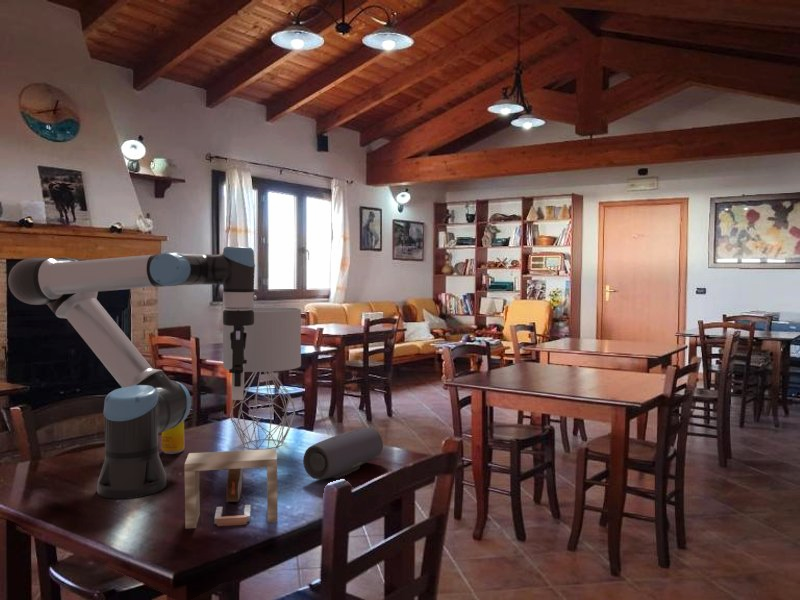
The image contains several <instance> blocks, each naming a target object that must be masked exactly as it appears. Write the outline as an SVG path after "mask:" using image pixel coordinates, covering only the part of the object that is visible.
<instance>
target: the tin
mask: <svg viewBox="0 0 800 600" xmlns="http://www.w3.org/2000/svg"><path fill="white" fill-rule="evenodd" d="M243 469H244V468H239V469H228V472H227V481H226V482H227V483H226V500H225V501H226V503H238V502H239V501H240V497H241V494H242V490H243V481H244V475H243Z"/></svg>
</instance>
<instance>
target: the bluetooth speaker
mask: <svg viewBox="0 0 800 600" xmlns="http://www.w3.org/2000/svg"><path fill="white" fill-rule="evenodd" d="M383 448H384V442H383V439H382V436H381V434H380V432H379V431H378V430H377V429H375V428H374V427H370V426H369V427H368V426H367V427H362V428H361V427H360V428H357V429H353V430H350V431H346V432H343V433H341V434H340V433H339V434H337V435H334V436H331V437H328V438H326V439H324V440H321V441H319V442H317V443H314V444H312V445H311V446H308V448H307V449H306V450H305V452H304V454H303V459H302V463H303V467H304V470H305V473H306V474H307V475H308V476H309V477H310V478H312V479H314V480H318V481H319V480H326V479H329V478H331V479H340V478H342V476H343V477H346V476H347V474H348V475H350V474H352V473H351V472H353V471H355V472H357V471H359V470H360V467H361V466H363V465H365V464H367V463H368V462H370V461H372V460H374V459H375V458H376V457H378V456H379V455H380V454H382V452H383ZM358 469H359V470H358ZM356 470H357V471H356ZM349 473H350V474H349ZM353 473H354V472H353ZM345 475H346V476H345ZM339 477H340V478H339Z"/></svg>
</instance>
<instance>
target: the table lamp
mask: <svg viewBox="0 0 800 600" xmlns="http://www.w3.org/2000/svg"><path fill="white" fill-rule="evenodd" d="M224 310H225V308H223V309H222V312H223V311H224ZM251 310H253V311H254V324H253V325H250V326H244V332H247V340H246V346H245V349H244V360H247V364H244V373H252V374H251V375H250V376H249V378H248V379H247V380H246V381H245V382H244V388H245V387H246V385H247V384H248V382H249V381H250V382H249V384H248V386H247V388H246V390H245V392H244V393H243V400H239V402H238V403H237V404H236V401H237V400H233V401H234V402H233V404H232V407H231V409H230V415H229V418H230V421H231V422H232V425H233V426H234V430H235V431H236V433H237V435H238V438H239V439H240V442H241V444H242V445H243V447H244V448H247V449H249V450H261V448H260V447H261V446H262V445H263V443H264V442H265V440H266V441H267V447H266V448H264V449H277V448H279V447H281V446H283V445H284V442H285V440H286V439H287V436H288V433H289V431H290V429H291V427H292V424H293V423H294V419H295V417H296V408H295V403H294V401H293V399H292V396H291V393H290V392H289V391H288V389H286V388H285V387H286V386H284V385H283V383H282V382H281V381H280V379H279V378H278V377H277V375H276V374H275V372H281V371H282V372H284V371H290V370H294V369H299V368H301V366H302V335H301V334H302V328H301V327H302V326H301V325H302V321H301V319H302V318H301V317H302V316H301V314H302V312H301V311H302V309H301V308H297V307H280V306H279V307H277V306H275V307H274V306H273V307H272V306H271V307H270V306H269V307H268V306H267V307H266V306H265V307H261V306H259V307H257V306H254V307H253V308H251ZM233 331H234V326H227V325H224V324H223V323H222V361H223V362H222V363H223V364H222V365H223V367H222V368H223V369H224V370H227V371H229V369H232V354H233V350H232V349H231V340H230V333H231V332H233ZM257 373H259V374H258V375H259V376H258V381H257V385H256V391H255V392H254V393H253V394H252V395H250V396H249V397H248V398H246V395H247V393H248V391H249V389H250V387H251V385H252V383H253V381H254V380H255V377H256V375H257ZM261 373H263V374H264V379H265V384H266V385H265V386H266V392H267V396H265V394H262V393H261V392H259V386H260V380H261V375H262V374H261ZM268 374H269V376H270V378H271V380H272V382H273V384H274V386H275V389H276V391H277V392H278V395H276V396H275V397H274V398H273V395H272V390H271V385H270V381H269V378H268ZM250 379H251V380H250ZM277 386H278V387H277ZM268 387H269V388H268ZM281 387H282V388H281ZM282 389H283V390H282ZM279 390H280V391H279ZM283 391H284V392H285V393H284V392H283ZM269 392H270V395H269ZM258 393H259V395H261V396H263V397H264V398H266V399H268V401H267V402H265V403H264V404H262V405H261V406H260V407H258V405H257V404H258ZM281 394H282V395H281ZM254 395H255V397H254V401H253V410H252V409H251V407H249V405H248V404H247V403H246V402H247V401H248V400H249V399H251V398H252V396H254ZM277 397H280V399H281V401H282V404H283V408H282V407H281V406H280V405H278V404H276V403H275V402H273V401H274V400H275V399H277ZM245 398H246V399H245ZM286 398H287V401H286ZM289 401H290V403H291V405H292V407H293V412H292V413H290V415H288V416H287V411H288V409H287V408H288V404H289ZM268 403H269V410H268V411H267V412H265V413H264V414H263V416H261V417H260V418H259V419H258V412H259V410H260V409H261V408H263V407H264V406H265V405H267V404H268ZM239 404H240V406H239V410H238V416H237V422H236V419H235V416H234V414H233V411H234V409H235V408H236V407H237V406H238V405H239ZM243 404H244V405H246V407H248V409H249V410H250V411H251V413H252V416H251V415H249V414H248V413H247V412H245V411H243ZM274 405H275V406H276V407H278V408H279V409H282V410H283V411H284V414H283V418H281V417H280V416H279V414H278V413H277V412H276V409H274V407H273V406H274ZM257 407H258V409H257ZM273 411H274V413H275V414H276V416H277V417H278V418H279V420H280V421H281V422H279V424H278V425H276V426H274V428H273V429H272V428H271V427H272V418H273ZM243 413H244V414H245V415H247V416H248V417H250V418H251V419H252V421H251V422H250V424H249V425H248V426H247V425H246V421H245V417H244V415H243ZM255 413H256V418H255ZM268 413H269V414H270V415H269V416H270V417H269V419H270V421H269V422H270V423H269V430H267V429H266V428H264V427H263V426H262V425H261V424H260V422H259V421H260V420H261V419H263V417H264V416H265V415H266V414H268ZM241 415H242V419H243V423H244V425H245V429H244V430H243V428H242V425H241V423H240V419H241ZM290 417H291V419H290V422H289V421H288V419H289V418H290ZM255 421H256V422H255ZM286 422H287V425H288V427H287V428H286V431H285V433H284V429H285V426H286ZM251 425H252V426H253V430H252V431H253V432H252V435H251V437H250V434H249V430H248V428H249V427H250V426H251ZM259 427H260V428H261V430H262V431H263V433H264V435H265V438H263V439H261V438H260V431H259ZM256 428H257V433H258V439H257V435H256V434H257V433H256ZM271 429H272V430H271ZM278 429H279V431H278V435H277V438H276V440H277V442H275V441H276V440H275V439H274V437H273V435H275V434H276V432H277V430H278ZM245 431H246V432H247V434H246V433H245ZM273 431H274V432H273ZM266 432H267V433H268V434H267V433H266ZM272 432H273V433H272ZM271 433H272V434H271ZM283 434H284V435H283ZM253 436H254V439H253ZM271 438H272V439H271ZM252 439H253V440H252ZM247 440H248V441H247ZM258 441H261V443H260V444H259V445H258ZM270 441H273V443H274V446H273V447H269V446H270V444H269V443H270ZM254 442H255V444H254ZM249 443H251V444H252V445H253V447H255V448H253V447H249ZM276 443H277V444H276ZM246 445H247V446H246Z"/></svg>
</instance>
